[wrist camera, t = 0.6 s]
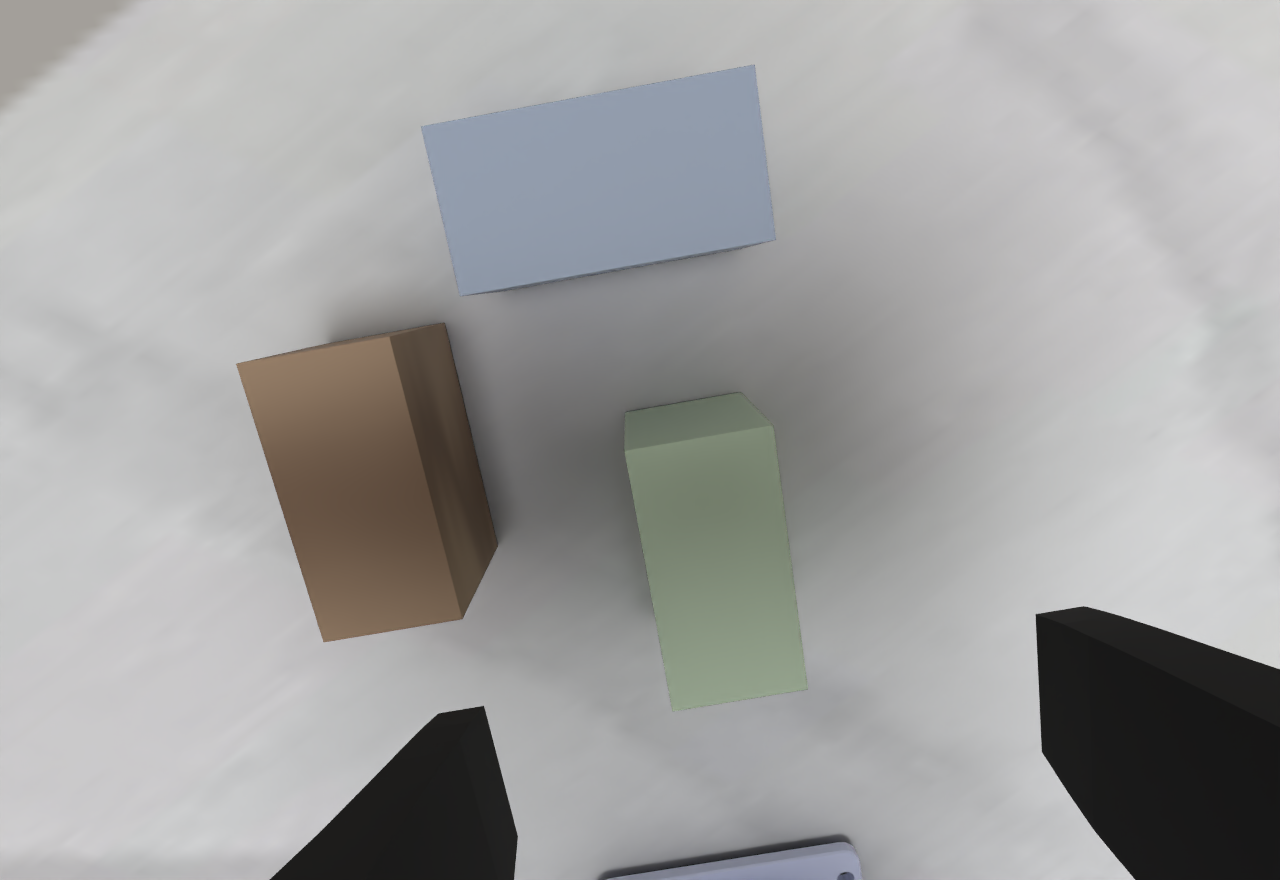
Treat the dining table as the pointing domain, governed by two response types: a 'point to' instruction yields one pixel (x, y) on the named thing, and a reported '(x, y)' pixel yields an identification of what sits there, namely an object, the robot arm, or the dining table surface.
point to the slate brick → (603, 181)
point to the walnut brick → (375, 478)
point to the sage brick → (715, 549)
